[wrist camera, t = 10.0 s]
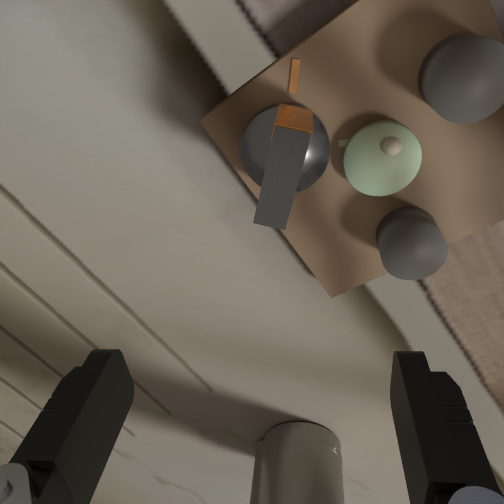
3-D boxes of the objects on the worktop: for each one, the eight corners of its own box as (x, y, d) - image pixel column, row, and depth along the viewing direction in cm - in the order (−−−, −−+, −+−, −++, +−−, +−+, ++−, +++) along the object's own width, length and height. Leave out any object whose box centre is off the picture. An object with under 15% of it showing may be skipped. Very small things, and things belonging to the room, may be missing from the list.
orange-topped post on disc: (315, 196, 30) (317, 237, 25) (235, 177, 30) (221, 215, 25) (341, 112, 27) (348, 141, 22) (251, 91, 27) (238, 115, 22)
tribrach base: (330, 284, 37) (333, 321, 33) (204, 113, 30) (188, 134, 26) (549, 181, 30) (587, 212, 26) (448, -71, 23) (479, -84, 19)
